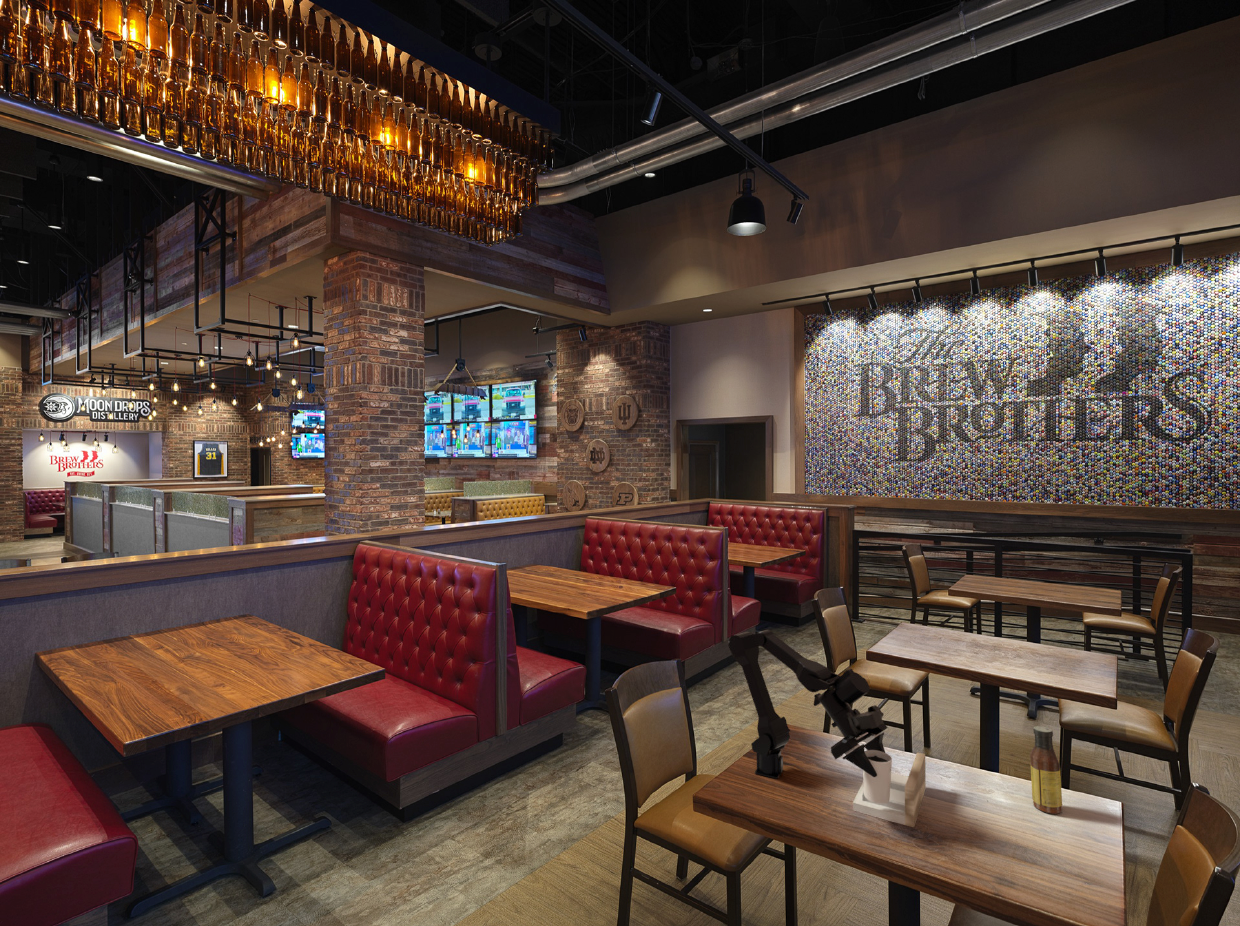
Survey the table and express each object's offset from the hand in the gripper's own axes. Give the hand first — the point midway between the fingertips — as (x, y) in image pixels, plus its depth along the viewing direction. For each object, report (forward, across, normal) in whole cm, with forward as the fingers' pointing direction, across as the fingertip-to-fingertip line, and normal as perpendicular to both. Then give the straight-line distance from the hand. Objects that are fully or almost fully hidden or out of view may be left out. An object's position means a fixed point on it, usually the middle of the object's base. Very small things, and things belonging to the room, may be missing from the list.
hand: (882, 772), depth 151 cm
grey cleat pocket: (+5, +12, +12) cm, 18 cm away
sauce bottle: (+26, +37, -9) cm, 46 cm away
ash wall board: (+10, +14, +7) cm, 18 cm away
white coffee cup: (+4, 0, +6) cm, 7 cm away
